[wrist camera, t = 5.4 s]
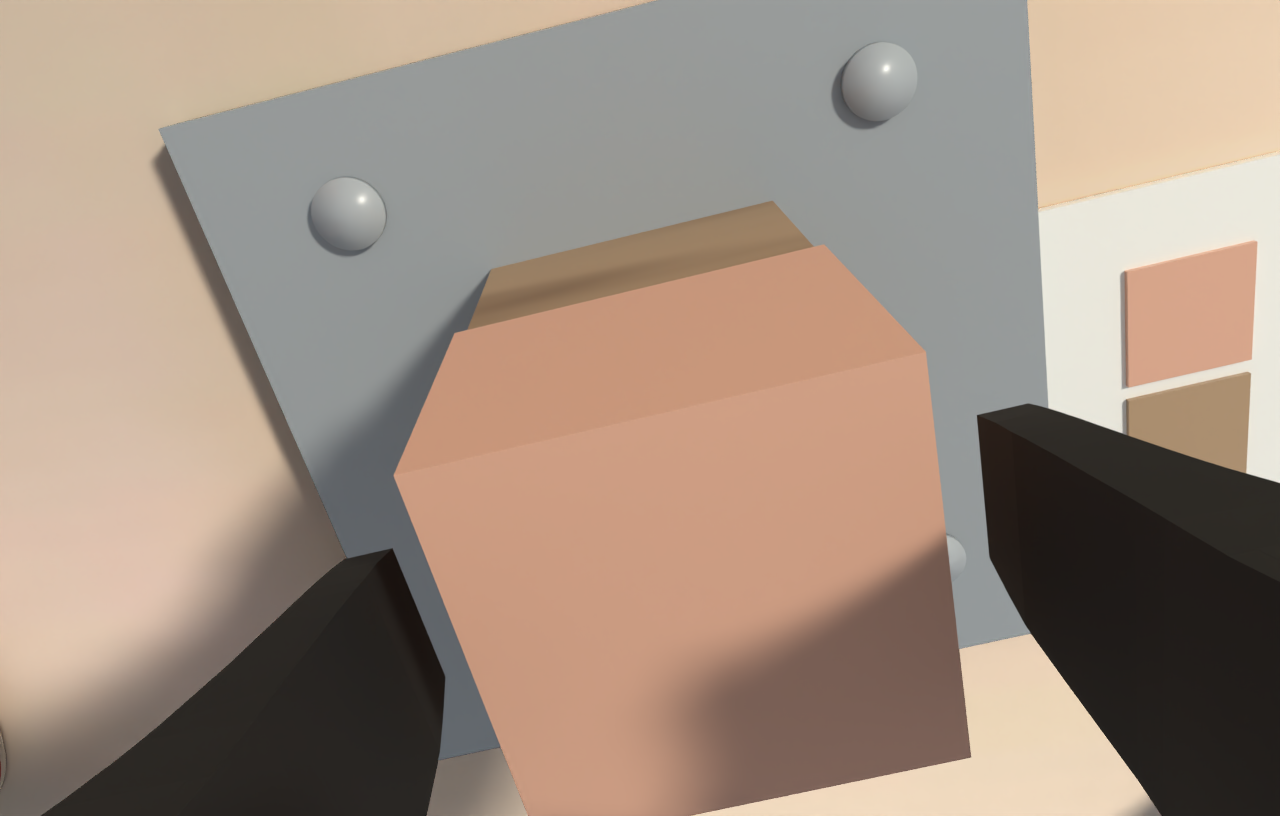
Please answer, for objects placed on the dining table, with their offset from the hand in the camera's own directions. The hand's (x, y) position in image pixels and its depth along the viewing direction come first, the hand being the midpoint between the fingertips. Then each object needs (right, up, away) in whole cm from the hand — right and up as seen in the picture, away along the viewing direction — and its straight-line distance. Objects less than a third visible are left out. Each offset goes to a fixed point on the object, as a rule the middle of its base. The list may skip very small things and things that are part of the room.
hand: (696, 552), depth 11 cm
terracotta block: (0, +1, +2) cm, 2 cm away
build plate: (0, +2, +7) cm, 7 cm away
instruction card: (+10, +2, +7) cm, 13 cm away
